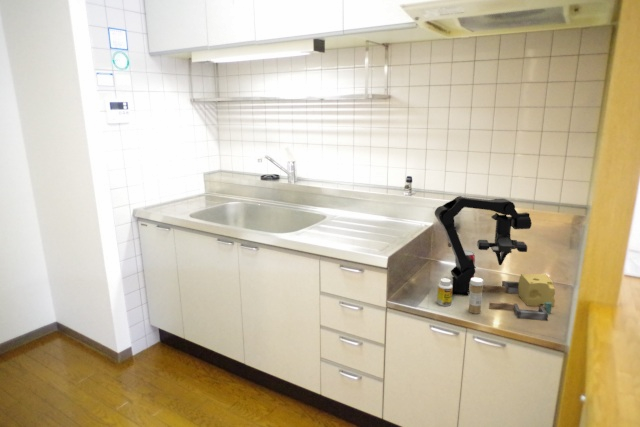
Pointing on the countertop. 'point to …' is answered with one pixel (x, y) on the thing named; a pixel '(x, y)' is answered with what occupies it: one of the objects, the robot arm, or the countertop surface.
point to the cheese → (536, 289)
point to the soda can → (471, 255)
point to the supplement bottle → (445, 292)
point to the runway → (520, 313)
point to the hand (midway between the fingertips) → (499, 264)
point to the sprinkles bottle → (475, 295)
